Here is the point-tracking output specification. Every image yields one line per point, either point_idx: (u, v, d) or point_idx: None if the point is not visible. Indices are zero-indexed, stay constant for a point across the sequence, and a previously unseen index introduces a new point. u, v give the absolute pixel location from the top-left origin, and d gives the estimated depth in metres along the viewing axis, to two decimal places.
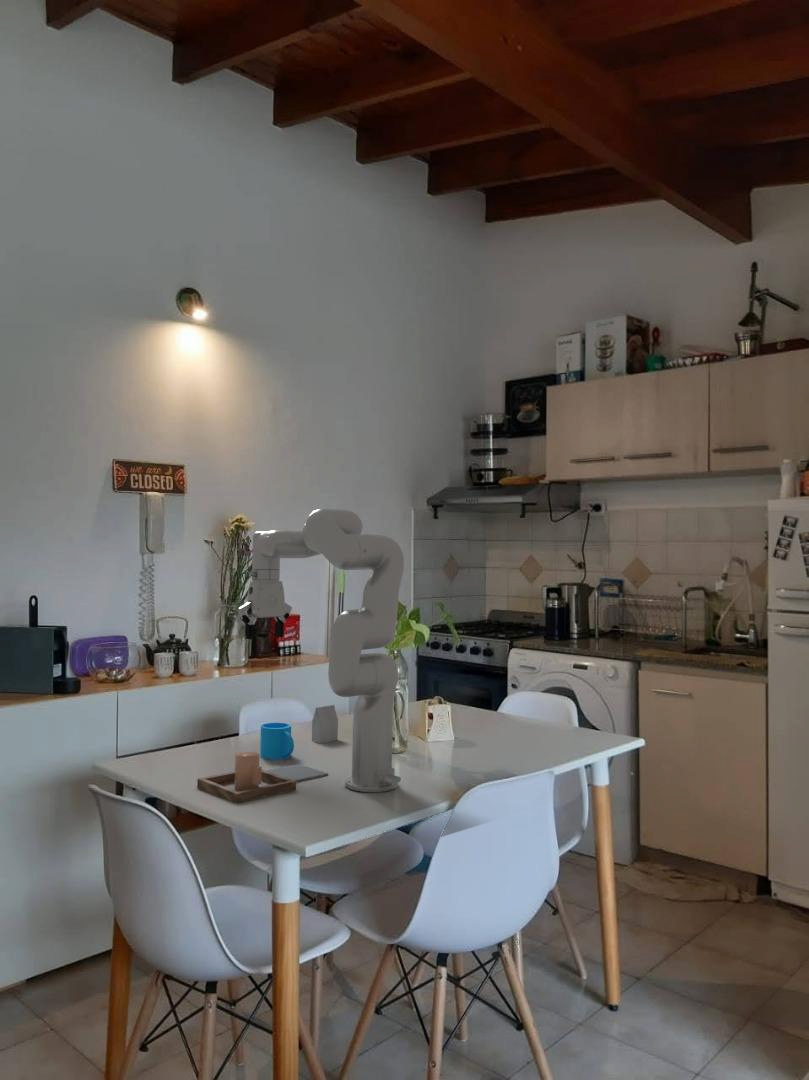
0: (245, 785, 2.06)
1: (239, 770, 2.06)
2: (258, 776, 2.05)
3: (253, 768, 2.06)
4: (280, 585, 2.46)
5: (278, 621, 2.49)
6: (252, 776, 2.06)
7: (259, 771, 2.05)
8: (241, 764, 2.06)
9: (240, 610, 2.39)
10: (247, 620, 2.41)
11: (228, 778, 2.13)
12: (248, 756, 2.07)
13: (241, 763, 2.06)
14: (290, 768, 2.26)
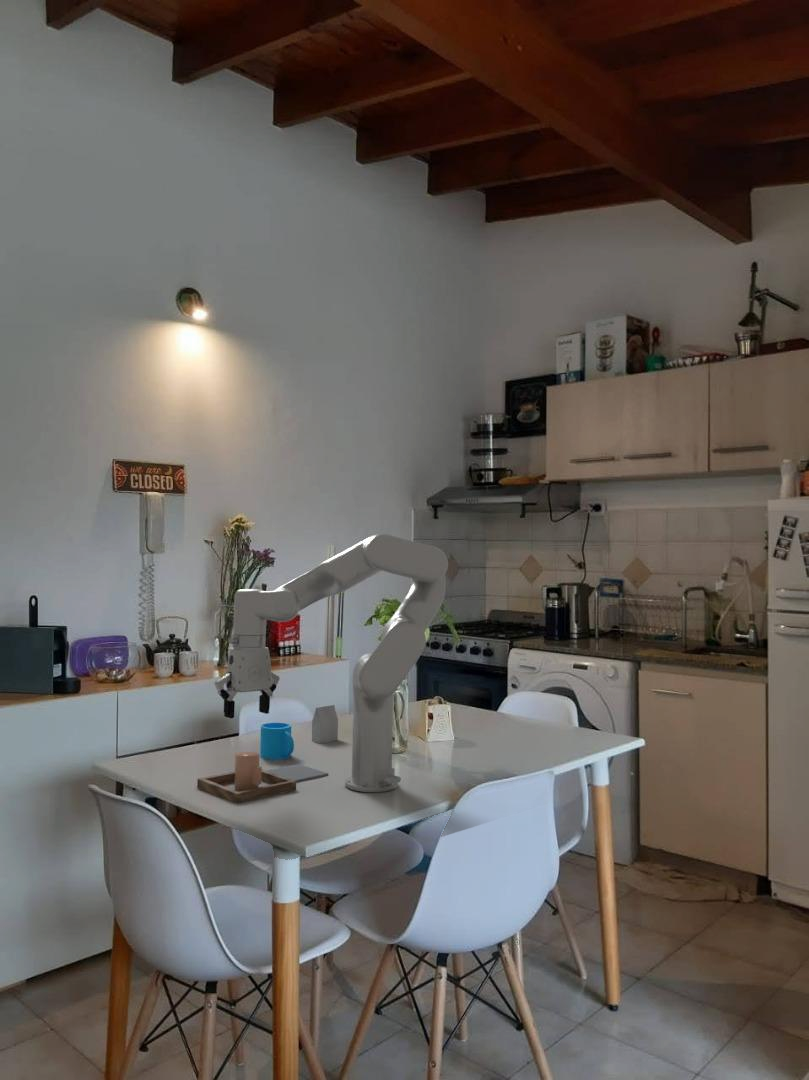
0: (244, 785, 2.06)
1: (239, 770, 2.06)
2: (258, 776, 2.05)
3: (253, 768, 2.06)
4: (266, 653, 2.09)
5: (263, 694, 2.12)
6: (252, 776, 2.06)
7: (259, 771, 2.05)
8: (241, 764, 2.06)
9: (218, 684, 2.02)
10: (226, 695, 2.04)
11: (228, 778, 2.13)
12: (248, 756, 2.07)
13: (241, 763, 2.06)
14: (290, 768, 2.26)
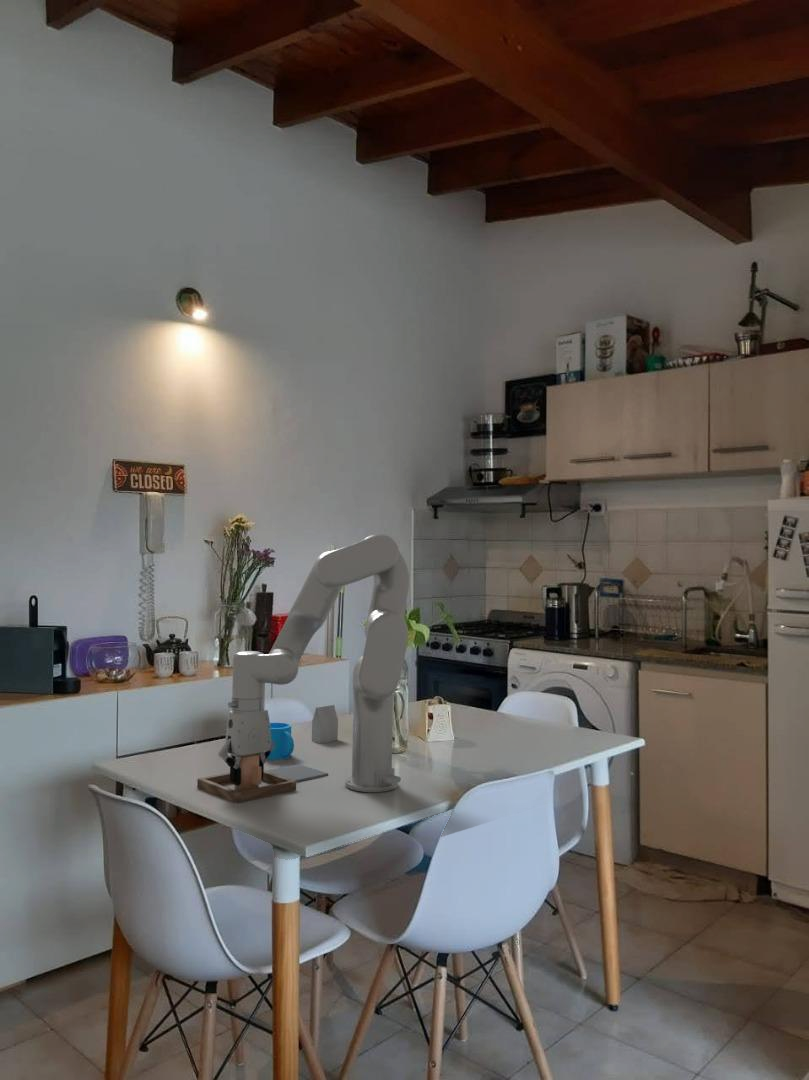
0: (244, 785, 2.06)
1: None
2: (258, 776, 2.05)
3: (253, 768, 2.06)
4: (265, 715, 2.09)
5: None
6: (252, 776, 2.06)
7: (259, 771, 2.05)
8: (241, 764, 2.06)
9: (221, 755, 2.03)
10: (232, 763, 2.05)
11: (228, 778, 2.13)
12: (248, 756, 2.07)
13: (241, 763, 2.06)
14: (290, 768, 2.26)
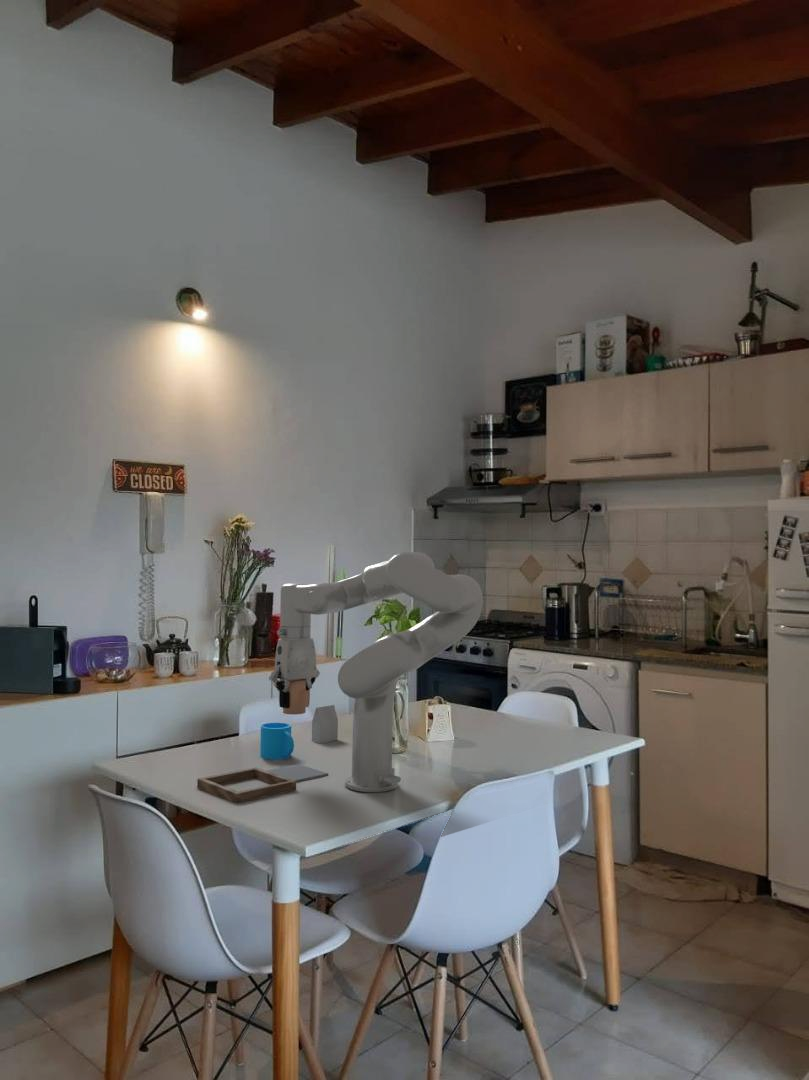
0: (293, 708, 2.19)
1: None
2: (306, 699, 2.18)
3: (301, 692, 2.19)
4: (311, 643, 2.22)
5: None
6: (300, 699, 2.19)
7: (307, 694, 2.18)
8: (289, 688, 2.19)
9: (272, 679, 2.16)
10: (282, 687, 2.18)
11: (228, 778, 2.13)
12: (296, 681, 2.20)
13: (289, 687, 2.19)
14: (290, 768, 2.26)
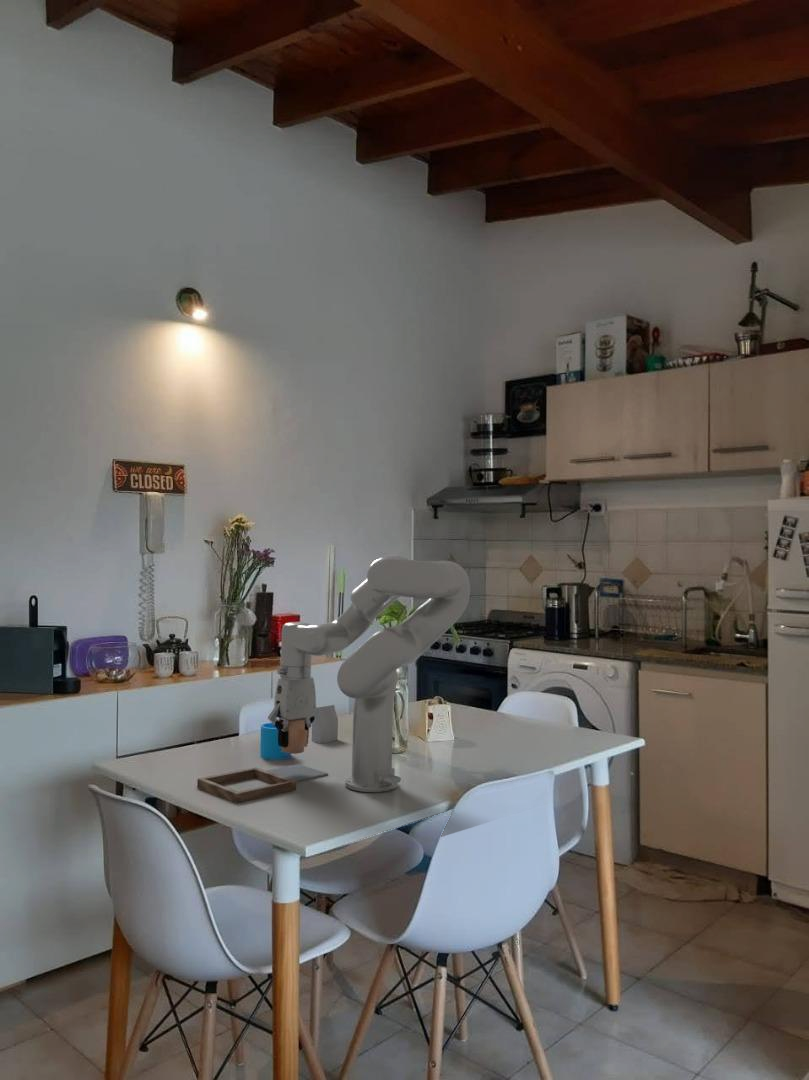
0: (291, 747, 2.19)
1: None
2: (304, 739, 2.18)
3: (300, 731, 2.19)
4: (311, 682, 2.22)
5: None
6: (298, 739, 2.20)
7: (305, 734, 2.18)
8: (288, 727, 2.19)
9: (271, 719, 2.17)
10: (280, 726, 2.18)
11: (228, 778, 2.13)
12: (295, 720, 2.20)
13: (288, 727, 2.19)
14: (290, 768, 2.26)
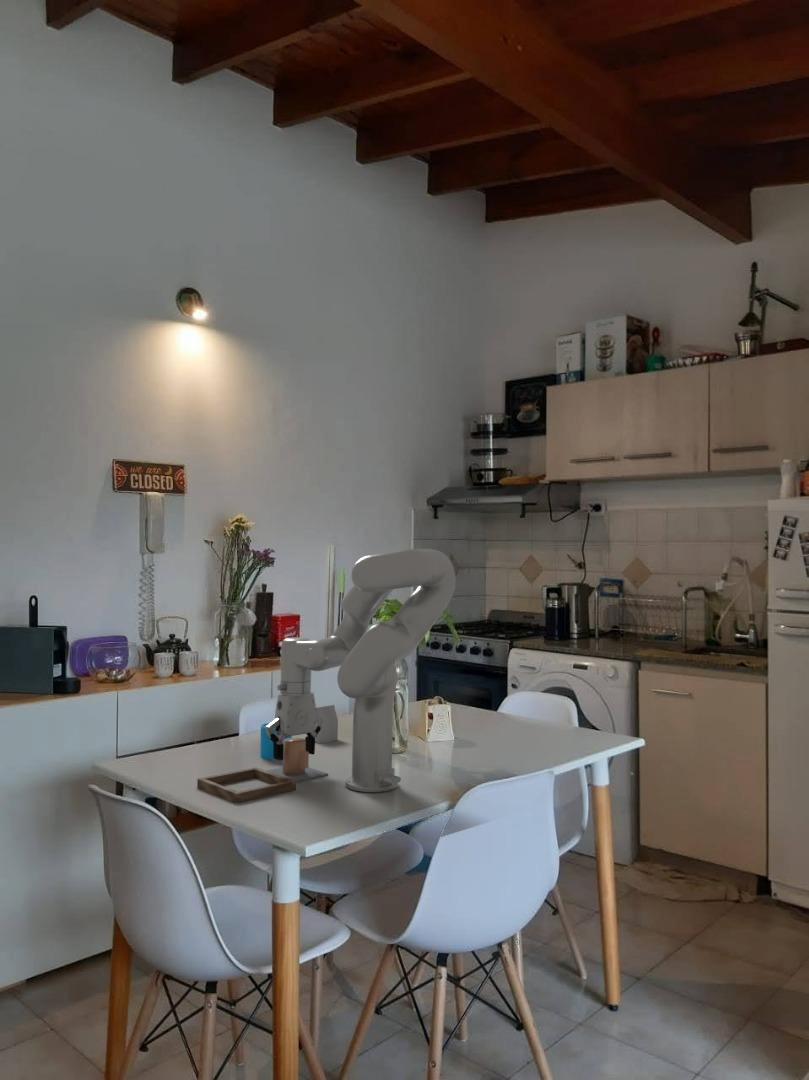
0: (292, 769, 2.19)
1: (287, 754, 2.19)
2: (305, 760, 2.18)
3: (300, 753, 2.19)
4: (311, 697, 2.22)
5: (309, 736, 2.25)
6: (299, 760, 2.19)
7: (306, 755, 2.18)
8: (289, 749, 2.19)
9: (268, 729, 2.16)
10: (276, 739, 2.17)
11: (228, 778, 2.13)
12: (296, 742, 2.20)
13: (289, 748, 2.19)
14: None
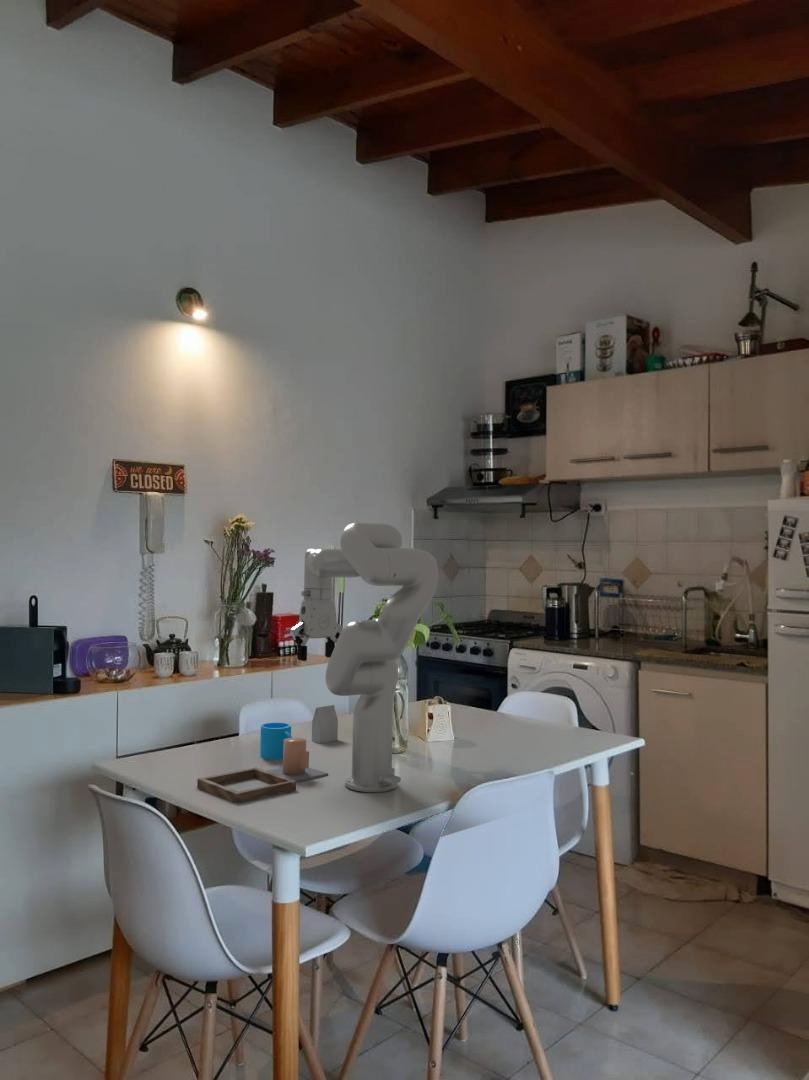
0: (293, 769, 2.19)
1: (288, 754, 2.19)
2: (306, 760, 2.18)
3: (301, 753, 2.19)
4: (332, 604, 2.39)
5: (329, 641, 2.42)
6: (300, 760, 2.19)
7: (307, 756, 2.18)
8: (289, 749, 2.19)
9: (293, 631, 2.32)
10: (300, 641, 2.33)
11: (228, 778, 2.13)
12: (296, 741, 2.20)
13: (289, 748, 2.19)
14: None
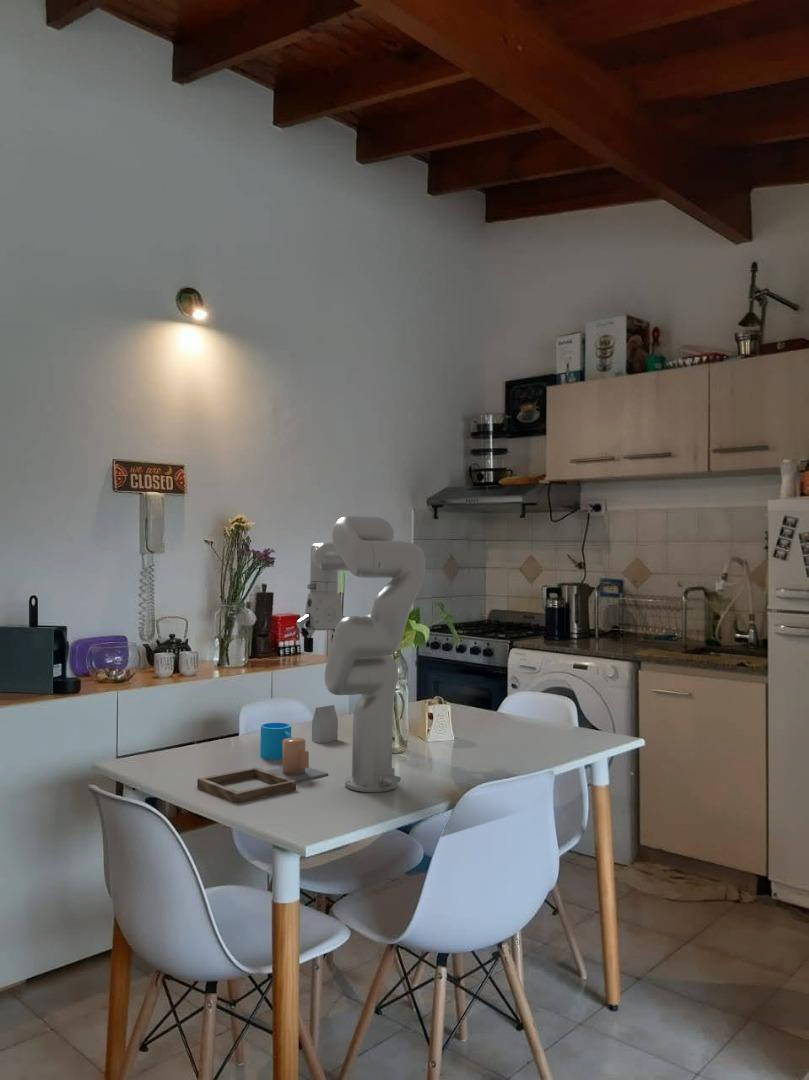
0: (293, 769, 2.19)
1: (287, 755, 2.19)
2: (306, 760, 2.18)
3: (300, 753, 2.19)
4: (338, 597, 2.43)
5: None
6: (300, 760, 2.19)
7: (306, 755, 2.18)
8: (289, 749, 2.19)
9: (299, 623, 2.37)
10: (306, 633, 2.38)
11: (228, 778, 2.13)
12: (295, 741, 2.20)
13: (289, 748, 2.19)
14: None
